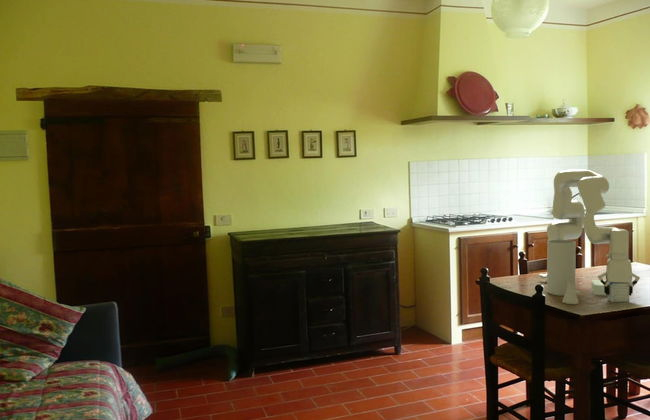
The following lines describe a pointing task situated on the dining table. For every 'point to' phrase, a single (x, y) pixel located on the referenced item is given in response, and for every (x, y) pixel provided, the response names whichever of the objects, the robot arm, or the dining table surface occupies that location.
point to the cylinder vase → (560, 265)
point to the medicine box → (618, 292)
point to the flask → (570, 294)
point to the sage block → (597, 287)
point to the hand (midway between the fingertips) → (618, 294)
